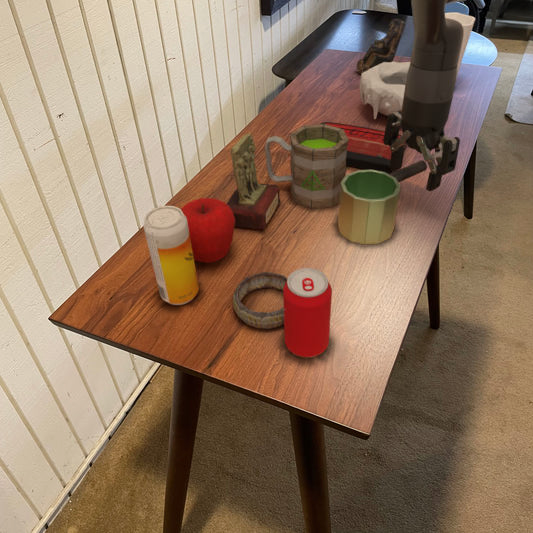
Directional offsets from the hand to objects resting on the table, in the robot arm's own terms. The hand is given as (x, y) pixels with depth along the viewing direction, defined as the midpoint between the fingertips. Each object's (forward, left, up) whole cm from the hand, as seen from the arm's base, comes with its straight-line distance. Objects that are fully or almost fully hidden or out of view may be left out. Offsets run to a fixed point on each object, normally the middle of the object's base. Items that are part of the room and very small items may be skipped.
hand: (413, 179), depth 92 cm
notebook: (-2, -24, -6) cm, 24 cm away
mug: (+15, -13, -6) cm, 21 cm away
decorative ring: (+34, +14, -6) cm, 37 cm away
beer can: (+45, +5, -6) cm, 46 cm away
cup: (-38, -43, -6) cm, 57 cm away
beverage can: (+31, +22, -6) cm, 39 cm away
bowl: (-20, -34, -6) cm, 40 cm away
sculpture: (+27, -10, -6) cm, 30 cm away
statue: (-28, -58, -6) cm, 64 cm away
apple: (+38, -2, -6) cm, 39 cm away
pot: (+7, +2, -6) cm, 9 cm away
